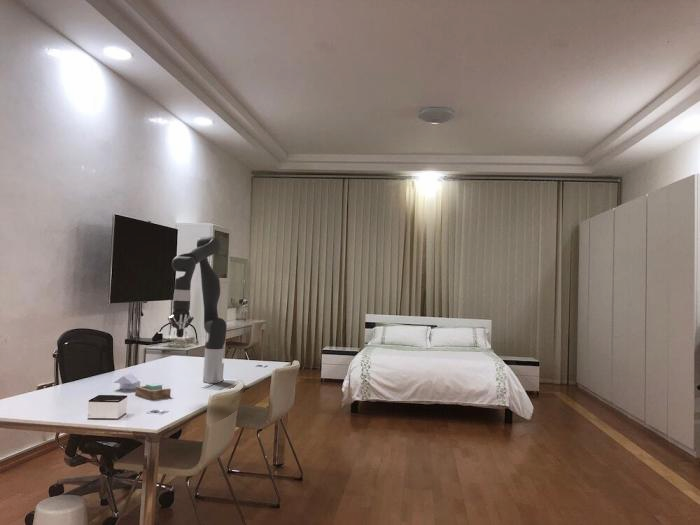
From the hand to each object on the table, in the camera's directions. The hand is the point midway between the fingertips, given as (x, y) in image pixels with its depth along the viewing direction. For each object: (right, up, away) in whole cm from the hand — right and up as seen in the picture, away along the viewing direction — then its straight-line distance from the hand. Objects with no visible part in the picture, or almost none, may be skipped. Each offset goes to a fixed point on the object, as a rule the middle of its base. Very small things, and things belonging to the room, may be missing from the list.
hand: (179, 337), depth 258 cm
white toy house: (-26, -25, +5) cm, 36 cm away
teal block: (-9, -25, -9) cm, 28 cm away
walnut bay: (-9, -25, -9) cm, 28 cm away
